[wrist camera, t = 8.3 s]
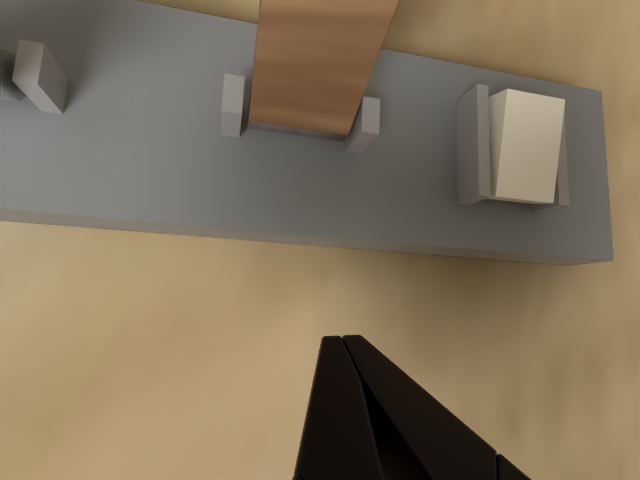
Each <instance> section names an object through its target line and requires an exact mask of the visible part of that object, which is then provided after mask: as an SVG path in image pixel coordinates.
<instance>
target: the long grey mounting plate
mask: <svg viewBox="0 0 640 480" xmlns="http://www.w3.org/2000/svg"><path fill="white" fill-rule="evenodd" d="M257 25H258V24H254V23H249V22H244V21H239V20H234V19H229V18H224V17H218V16H213V15H208V14H203V13H198V12H193V11H188V10H183V9H178V8H173V7H167V6H162V5H157V4H152V3H147V2H142V1H137V0H0V48H2V49H4V50H6V51H8V52H11V53H13V54H15V55H16V61H15V67H14V72H13V78H12V81H13V82H14V83H15V84H16V85H17V86H18V87H19V88H20V89H21V90H22V91H23V92H24V93H25V94H26V96H27V97H23V101H15V100H8V99H1V98H0V221H12V222H25V223H37V224H50V225H63V226H75V227H88V228H101V229H113V230H126V231H139V232H151V233H164V234H177V235H189V236H202V237H215V238H227V239H240V240H253V241H265V242H278V243H291V244H303V245H316V246H329V247H341V248H354V249H367V250H379V251H392V252H404V253H417V254H430V255H442V256H455V257H468V258H480V259H493V260H506V261H518V262H531V263H544V264H556V265H578V264H587V263H596V262H606V261H614V258H613V245H612V231H611V218H610V204H609V190H608V177H607V163H606V150H605V136H604V123H603V109H602V95H601V91H596V90H591V89H586V88H581V87H576V86H570V85H565V84H560V83H555V82H550V81H545V80H540V79H535V78H530V77H525V76H519V75H514V74H509V73H504V72H499V71H494V70H489V69H484V68H479V67H474V66H468V65H463V64H458V63H453V62H448V61H443V60H438V59H433V58H428V57H423V56H417V55H412V54H407V53H402V52H397V51H392V50H387V49H382V48H381V49H380V51H379V54H378V57H377V59H376V62H375V65H374V67H373V70H372V73H371V75H370V78H369V81H368V83H367V86H366V89H365V91H364V94H363V97H362V99H361V102H360V105H359V107H358V110H357V113H356V115H355V118H354V121H353V123H352V126H351V129H350V131H349V134H348V135H346V138H345V140H344V141H337V140H329V139H322V138H315V137H308V136H301V135H293V134H286V133H279V132H272V131H265V130H257V129H250V128H247V122H248V110H249V101H250V90H251V81H252V71H253V62H254V53H255V44H256V34H257ZM506 89H512V90H517V91H523V92H528V93H533V94H539V95H544V96H549V97H555V98H560V99H565V107H564V116H563V124H562V133H561V142H560V150H559V159H558V168H557V177H556V185H555V194H554V203H546V204H528V203H520V202H511V201H502V200H494V199H486V198H489V197H491V189H490V149H489V109H488V100H489V97H490V96H492V95H495V94H497V93H499V92H501V91H503V90H506Z"/></svg>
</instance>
